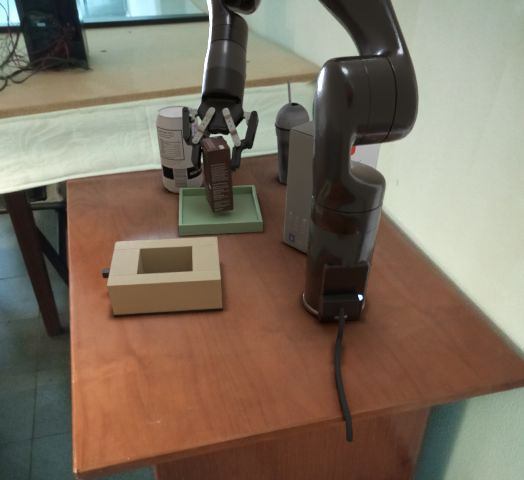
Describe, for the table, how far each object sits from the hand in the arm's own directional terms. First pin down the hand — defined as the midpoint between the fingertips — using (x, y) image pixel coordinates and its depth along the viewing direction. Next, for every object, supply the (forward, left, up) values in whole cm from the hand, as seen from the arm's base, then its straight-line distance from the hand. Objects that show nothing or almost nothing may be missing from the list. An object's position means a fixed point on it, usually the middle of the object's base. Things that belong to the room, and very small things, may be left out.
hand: (215, 168), depth 88 cm
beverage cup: (+16, -16, -10) cm, 25 cm away
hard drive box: (-8, -19, -10) cm, 23 cm away
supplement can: (+15, +7, -10) cm, 19 cm away
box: (+2, 0, -8) cm, 8 cm away
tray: (+2, 0, -10) cm, 10 cm away
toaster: (-22, +9, -10) cm, 26 cm away
